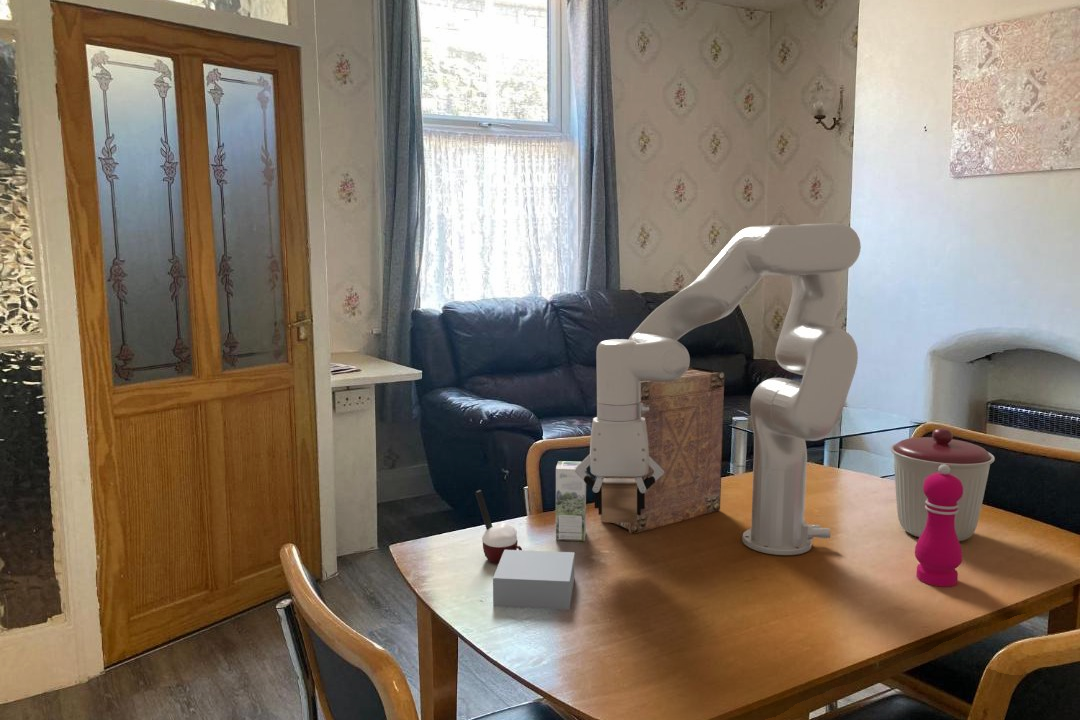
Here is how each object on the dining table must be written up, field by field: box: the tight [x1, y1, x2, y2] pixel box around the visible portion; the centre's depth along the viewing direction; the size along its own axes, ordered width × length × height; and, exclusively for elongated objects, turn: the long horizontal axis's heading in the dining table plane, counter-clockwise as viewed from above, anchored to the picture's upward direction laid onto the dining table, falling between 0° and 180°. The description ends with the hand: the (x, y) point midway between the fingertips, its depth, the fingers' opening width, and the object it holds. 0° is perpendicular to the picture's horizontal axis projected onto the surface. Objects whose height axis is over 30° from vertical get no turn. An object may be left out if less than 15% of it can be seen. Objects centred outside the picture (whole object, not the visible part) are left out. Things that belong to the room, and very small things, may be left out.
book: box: [600, 366, 725, 535], centre depth 168 cm, size 25×9×30 cm, turn 124°
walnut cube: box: [601, 478, 637, 523], centre depth 142 cm, size 6×6×6 cm
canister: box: [889, 427, 996, 542], centre depth 158 cm, size 18×18×21 cm
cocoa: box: [475, 489, 523, 565], centre depth 146 cm, size 10×6×12 cm, turn 36°
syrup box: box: [555, 460, 587, 542], centre depth 157 cm, size 6×6×14 cm
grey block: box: [492, 549, 576, 611], centre depth 133 cm, size 12×12×5 cm
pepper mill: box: [914, 464, 963, 588], centre depth 136 cm, size 7×7×20 cm
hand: (619, 511), depth 142 cm, fingers closed on walnut cube, 6 cm apart
